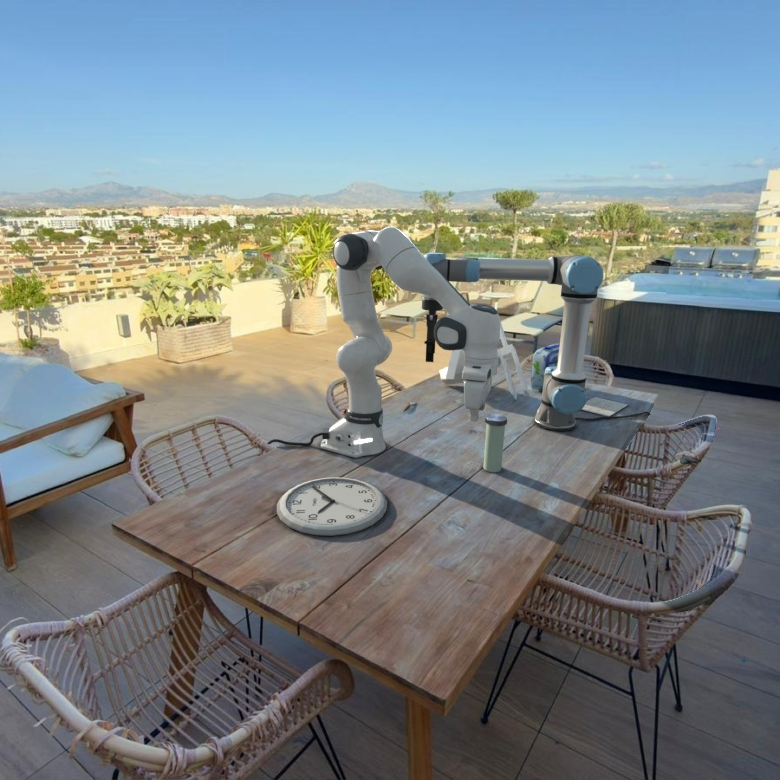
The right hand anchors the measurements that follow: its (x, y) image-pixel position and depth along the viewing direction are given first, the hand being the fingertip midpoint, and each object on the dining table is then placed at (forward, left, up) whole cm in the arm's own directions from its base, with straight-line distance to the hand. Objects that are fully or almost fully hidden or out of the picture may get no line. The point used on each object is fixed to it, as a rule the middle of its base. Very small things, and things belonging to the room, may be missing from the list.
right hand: (430, 357), depth 190 cm
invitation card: (-73, -38, -28) cm, 87 cm away
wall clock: (+23, +61, -28) cm, 71 cm away
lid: (-22, +31, -11) cm, 39 cm away
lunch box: (-56, -63, -28) cm, 89 cm away
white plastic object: (-22, -50, -28) cm, 61 cm away
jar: (-22, +31, -28) cm, 47 cm away
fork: (+9, -24, -28) cm, 38 cm away
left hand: (-15, +48, -4) cm, 50 cm away
